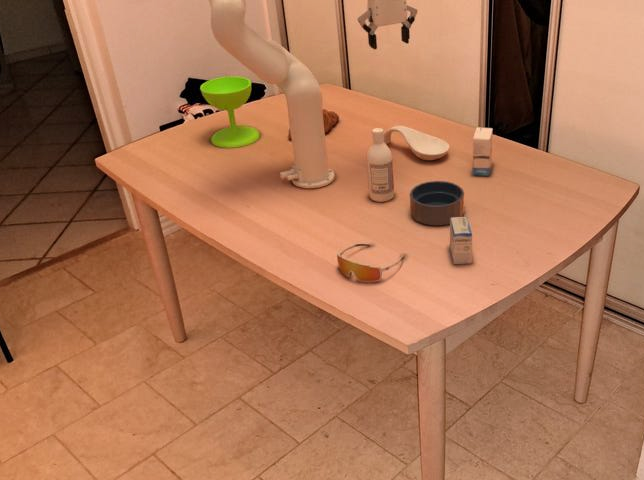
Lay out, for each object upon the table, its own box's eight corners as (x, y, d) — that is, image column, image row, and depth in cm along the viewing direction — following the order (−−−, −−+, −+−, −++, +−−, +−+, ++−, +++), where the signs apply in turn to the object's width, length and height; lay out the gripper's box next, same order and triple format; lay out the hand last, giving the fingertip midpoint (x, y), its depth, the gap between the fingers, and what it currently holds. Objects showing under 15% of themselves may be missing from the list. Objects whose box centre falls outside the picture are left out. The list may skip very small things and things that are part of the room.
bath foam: (398, 198, 197) (395, 131, 185) (375, 204, 194) (370, 137, 183) (388, 188, 202) (384, 122, 190) (365, 194, 199) (360, 127, 188)
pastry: (334, 140, 231) (332, 116, 226) (287, 141, 231) (284, 117, 227) (339, 120, 245) (337, 97, 240) (295, 121, 245) (292, 98, 241)
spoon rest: (456, 154, 220) (456, 132, 215) (435, 168, 212) (435, 146, 208) (394, 138, 231) (393, 117, 227) (373, 151, 223) (371, 129, 219)
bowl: (426, 231, 182) (425, 211, 178) (401, 208, 192) (401, 188, 189) (473, 218, 187) (474, 198, 183) (447, 195, 197) (447, 176, 194)
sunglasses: (327, 272, 167) (326, 253, 165) (363, 250, 179) (364, 232, 177) (376, 289, 161) (376, 270, 159) (411, 265, 173) (412, 247, 170)
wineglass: (201, 143, 231) (189, 90, 221) (229, 125, 244) (219, 74, 233) (242, 150, 226) (232, 96, 216) (268, 131, 238) (260, 79, 228)
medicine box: (449, 247, 175) (449, 217, 170) (467, 246, 175) (467, 215, 171) (453, 265, 169) (453, 234, 164) (472, 263, 169) (472, 232, 164)
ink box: (488, 176, 206) (490, 139, 199) (472, 175, 207) (472, 138, 200) (492, 164, 213) (493, 127, 206) (475, 163, 214) (476, 126, 207)
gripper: (409, -28, 190) (411, 36, 200) (350, -19, 184) (355, 46, 193) (422, -23, 184) (423, 43, 194) (361, -14, 178) (366, 54, 188)
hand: (389, 45), depth 194 cm, fingers open, 9 cm apart
